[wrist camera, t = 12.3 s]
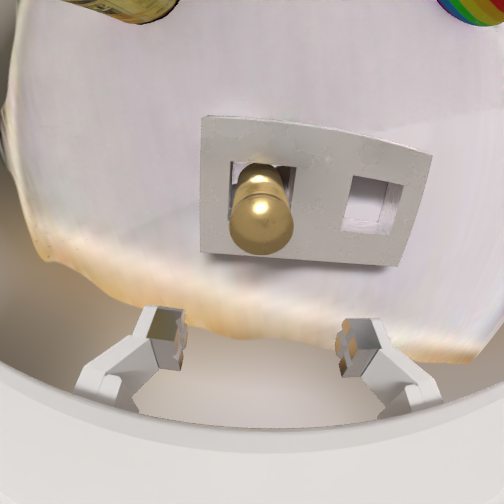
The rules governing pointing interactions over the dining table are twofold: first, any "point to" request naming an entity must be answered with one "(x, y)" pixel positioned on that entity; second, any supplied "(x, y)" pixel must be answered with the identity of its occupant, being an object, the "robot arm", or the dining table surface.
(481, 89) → the dining table surface
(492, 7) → the decorative egg
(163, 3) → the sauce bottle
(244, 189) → the brass cylinder
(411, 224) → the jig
